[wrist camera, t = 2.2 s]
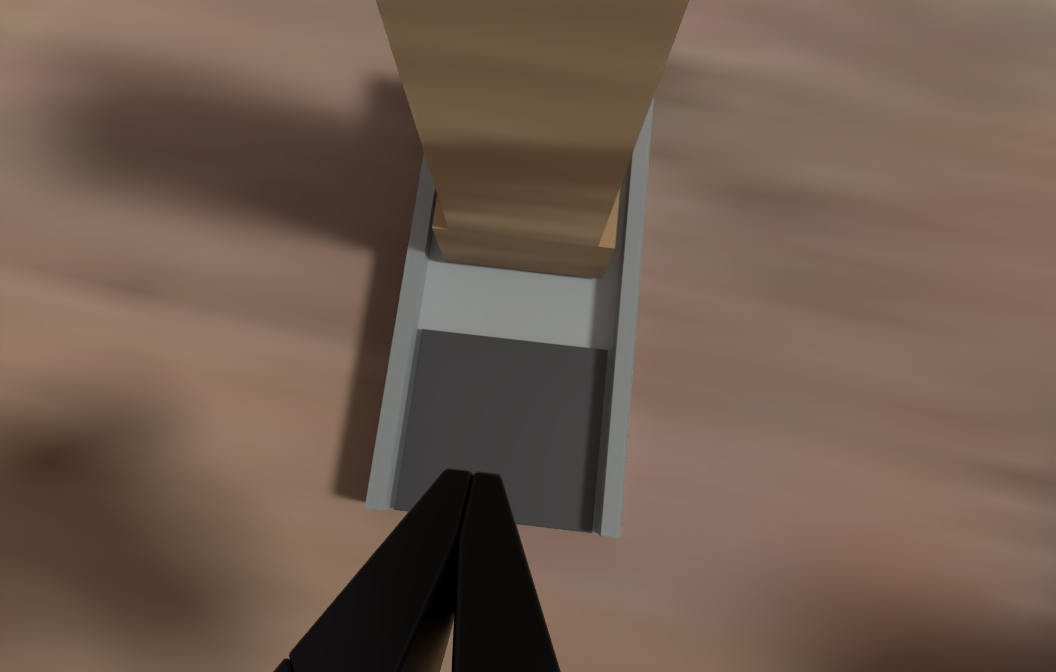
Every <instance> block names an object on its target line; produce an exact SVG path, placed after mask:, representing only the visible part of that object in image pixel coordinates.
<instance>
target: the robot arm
mask: <svg viewBox="0 0 1056 672" xmlns="http://www.w3.org/2000/svg"><path fill="white" fill-rule="evenodd" d="M453 621H454V631H453V653H452V672H561V671H560V668H559V665H558V661H557V658H556V655H555V652H554V648H553V645H552V642H551V638H550V635H549V632H548V628H547V625H546V622H545V619H544V615H543V612H542V609H541V605H540V602H539V599H538V595H537V592H536V589H535V585H534V582H533V579H532V576H531V572H530V569H529V566H528V562H527V559H526V556H525V552H524V549H523V546H522V542H521V539H520V536H519V533H518V529H517V526H516V523H515V519H514V516H513V513H512V509H511V506H510V503H509V500H508V496H507V493H506V490H505V486H504V483H503V480H502V477H501V476H500V475H499V474H497V473H490V472H481V471H477V472H475V473H474V474H473V473H472V472H471V471H470V470H464V469H455V468H447V469H445V470H444V471H443V472H442V473H441V474H440V475H439V477H438V478H437V479H436V480H435V481H434V483H433V484H432V485H431V486H430V487H429V488H428V490H427V491H426V492H425V493H424V494H423V496H422V497H421V498H420V499H419V500H418V502H417V503H416V504H415V505H414V506H413V507H412V509H411V510H410V511H409V512H408V513H407V515H406V516H405V517H404V518H403V519H402V520H401V522H400V523H399V524H398V525H397V526H396V528H395V529H394V530H393V531H392V532H391V533H390V535H389V536H388V537H387V538H386V539H385V541H384V542H383V543H382V544H381V545H380V546H379V548H378V549H377V550H376V551H375V552H374V554H373V555H372V556H371V557H370V558H369V560H368V561H367V562H366V563H365V564H364V565H363V567H362V568H361V569H360V570H359V571H358V573H357V574H356V575H355V576H354V577H353V578H352V580H351V581H350V582H349V583H348V584H347V586H346V587H345V588H344V589H343V590H342V591H341V593H340V594H339V595H338V596H337V597H336V599H335V600H334V601H333V602H332V603H331V604H330V606H329V607H328V608H327V609H326V610H325V612H324V613H323V614H322V615H321V616H320V618H319V619H318V620H317V621H316V622H315V623H314V625H313V626H312V627H311V628H310V629H309V631H308V632H307V633H306V634H305V635H304V636H303V638H302V639H301V640H300V641H299V642H298V644H297V645H296V646H295V647H294V648H293V649H292V651H291V652H290V654H289V658H290V660H289V659H288V658H286V659H284V660H283V661H282V662H281V663H280V664H279V666H278V667H277V668H276V669H275V670H274V672H440V669H441V665H442V662H443V658H444V655H445V651H446V647H447V644H448V640H449V637H450V633H451V629H452V625H453Z"/></svg>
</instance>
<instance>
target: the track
mask: <svg viewBox="0 0 1056 672" xmlns="http://www.w3.org/2000/svg"><path fill="white" fill-rule="evenodd" d="M653 102H654V97H653V100H652V102H651V105H650V108H649V110H648V113H647V116H646V119H645V121H644V124H643V127H642V129H641V132H640V135H639V137H638V140H637V143H636V146H635V148H634V151H633V154H632V156H631V159H630V162H629V165H628V167H627V170H626V173H625V175H624V178H623V181H622V184H621V186H620V196H619V207H618V219H617V230H616V242H615V249H614V252H613V254H612V256H611V258H610V260H609V263H608V265H607V267H606V269H605V272H604V274H603V276H602V278H601V279H598V278H589V277H580V276H571V275H562V274H553V273H544V272H535V271H527V270H518V269H509V268H500V267H491V266H482V265H473V264H464V263H455V262H447V261H445V260H444V258H443V255H442V252H441V250H440V247H439V245H438V242H437V240H436V237H435V234H434V232H433V229H432V225H433V219H434V212H435V206H436V200H437V192H436V188H435V185H434V182H433V179H432V176H431V173H430V169H429V166H428V163H427V160H426V157H425V154H424V153H423V159H422V165H421V171H420V177H419V183H418V189H417V195H416V201H415V207H414V213H413V219H412V225H411V231H410V237H409V243H408V249H407V255H406V262H405V268H404V274H403V280H402V286H401V292H400V298H399V304H398V310H397V316H396V322H395V328H394V334H393V340H392V346H391V352H390V358H389V364H388V370H387V376H386V382H385V388H384V395H383V401H382V407H381V413H380V419H379V425H378V431H377V437H376V443H375V449H374V455H373V461H372V467H371V473H370V479H369V485H368V491H367V497H366V503H365V509H373V510H382V511H384V510H387V509H389V508H390V509H394V510H401V511H410V510H411V509H412V507H413V506H414V505H415V504H416V503H417V502H418V500H419V499H420V498H421V497H422V496H423V494H424V493H425V492H426V491H427V490H428V488H429V487H430V486H431V485H432V484H433V483H434V481H435V480H436V479H437V478H438V477H439V475H440V474H441V473H442V472H443V471H444V470H445V469H447V468H455V469H464V470H470V471H471V472H472V473H473V474H474V473H475V472H477V471H481V472H490V473H497V474H499V475H500V476H501V477H502V480H503V483H504V486H505V490H506V493H507V496H508V500H509V503H510V506H511V509H512V513H513V516H514V519H515V523H516V524H520V525H529V526H537V527H546V528H554V529H563V530H571V531H580V532H588V533H592V532H594V533H598V534H599V535H600V536H604V537H612V538H620V533H621V520H622V507H623V494H624V481H625V467H626V454H627V441H628V428H629V415H630V402H631V389H632V376H633V363H634V350H635V337H636V324H637V311H638V298H639V285H640V271H641V258H642V245H643V232H644V219H645V206H646V193H647V180H648V167H649V154H650V141H651V128H652V115H653Z"/></svg>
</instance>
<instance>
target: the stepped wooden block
mask: <svg viewBox="0 0 1056 672" xmlns="http://www.w3.org/2000/svg"><path fill="white" fill-rule="evenodd" d="M376 2H377V5H378V8H379V12H380V15H381V18H382V21H383V24H384V27H385V30H386V34H387V37H388V40H389V43H390V46H391V49H392V53H393V56H394V59H395V62H396V65H397V68H398V72H399V75H400V78H401V81H402V84H403V87H404V90H405V94H406V97H407V100H408V103H409V106H410V109H411V113H412V116H413V119H414V122H415V125H416V128H417V132H418V135H419V138H420V141H421V144H422V147H423V151H424V154H425V157H426V160H427V163H428V166H429V169H430V173H431V176H432V179H433V182H434V185H435V188H436V192H437V200H436V206H435V212H434V219H433V225H432V229H433V232H434V234H435V237H436V240H437V242H438V245H439V247H440V250H441V252H442V255H443V258H444V260H445V261H447V262H455V263H464V264H473V265H482V266H491V267H500V268H509V269H518V270H527V271H535V272H544V273H553V274H562V275H571V276H580V277H589V278H598V279H601V278H602V276H603V274H604V272H605V269H606V267H607V265H608V263H609V260H610V258H611V256H612V254H613V252H614V249H615V242H616V230H617V219H618V207H619V196H620V186H621V184H622V181H623V178H624V175H625V173H626V170H627V167H628V165H629V162H630V159H631V156H632V154H633V151H634V148H635V146H636V143H637V140H638V137H639V135H640V132H641V129H642V127H643V124H644V121H645V119H646V116H647V113H648V110H649V108H650V105H651V102H652V100H653V97H654V94H655V91H656V89H657V86H658V83H659V81H660V78H661V75H662V72H663V70H664V67H665V64H666V62H667V59H668V56H669V53H670V51H671V48H672V45H673V43H674V40H675V37H676V34H677V32H678V29H679V26H680V24H681V21H682V18H683V15H684V13H685V10H686V7H687V5H688V2H689V0H376Z"/></svg>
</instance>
